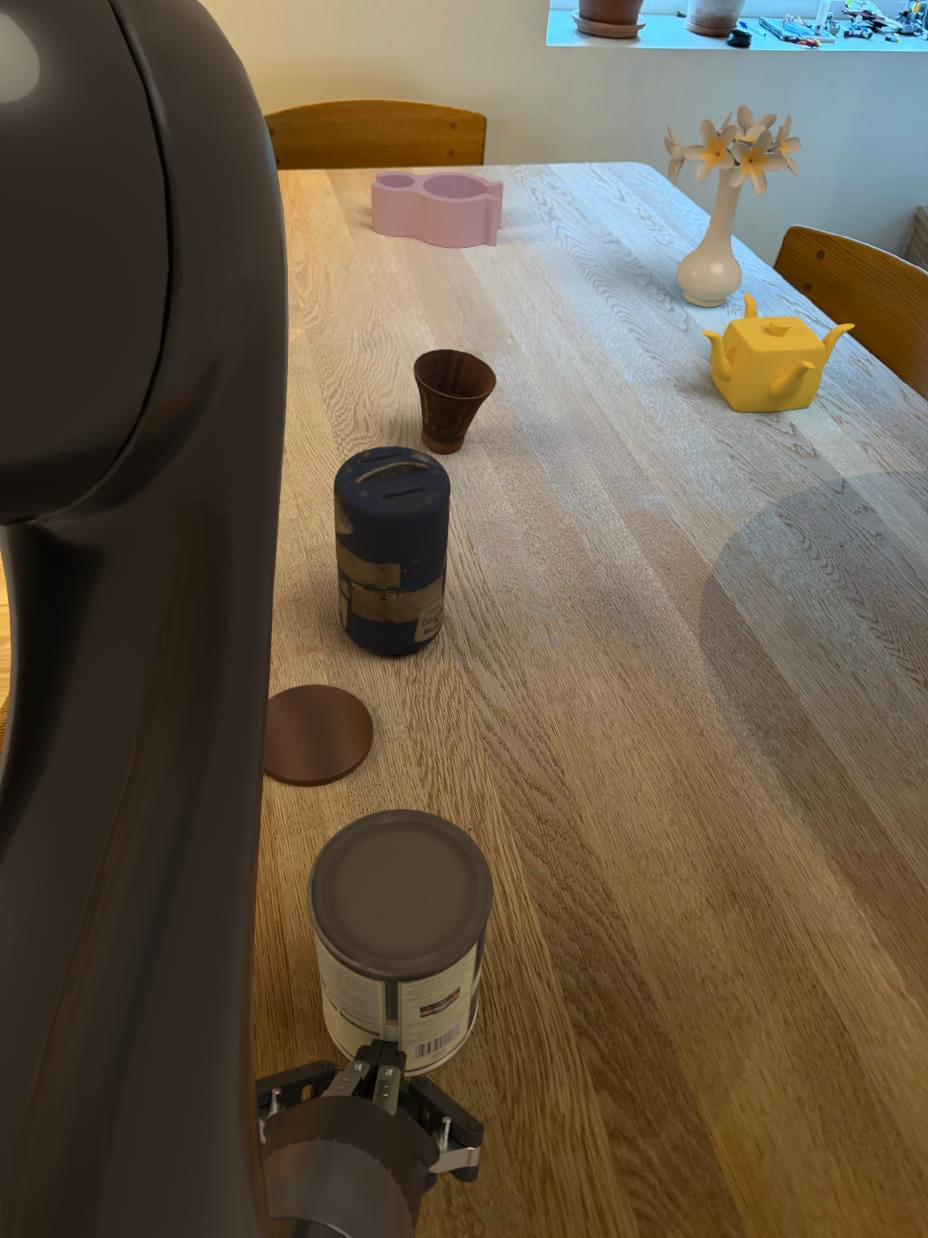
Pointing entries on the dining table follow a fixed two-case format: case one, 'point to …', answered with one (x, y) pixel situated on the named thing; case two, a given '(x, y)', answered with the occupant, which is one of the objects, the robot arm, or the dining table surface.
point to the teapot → (769, 361)
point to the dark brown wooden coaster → (316, 735)
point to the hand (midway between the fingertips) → (383, 1056)
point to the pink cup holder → (437, 207)
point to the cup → (450, 395)
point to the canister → (391, 547)
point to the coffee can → (400, 934)
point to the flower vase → (727, 194)
